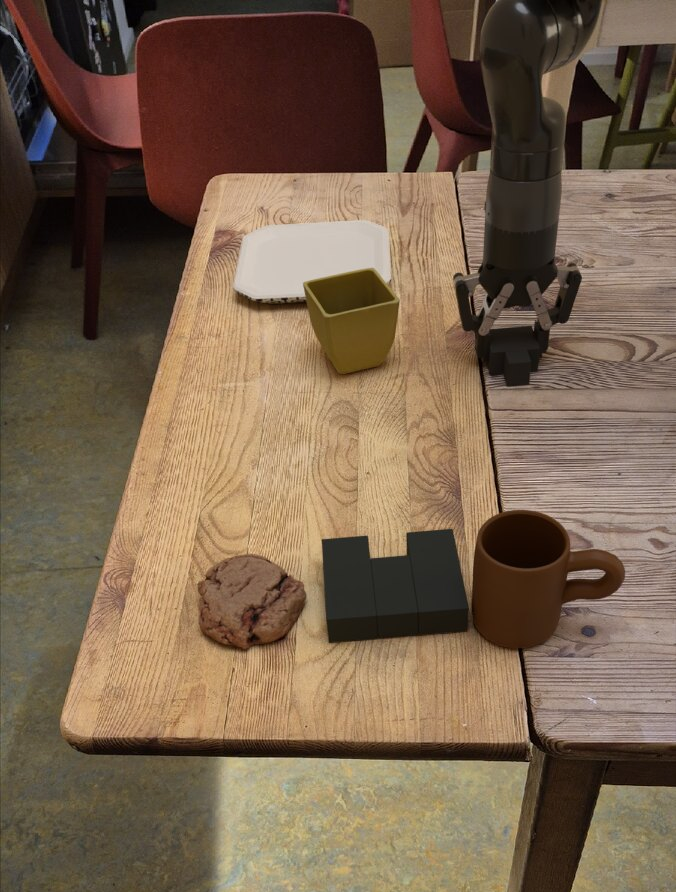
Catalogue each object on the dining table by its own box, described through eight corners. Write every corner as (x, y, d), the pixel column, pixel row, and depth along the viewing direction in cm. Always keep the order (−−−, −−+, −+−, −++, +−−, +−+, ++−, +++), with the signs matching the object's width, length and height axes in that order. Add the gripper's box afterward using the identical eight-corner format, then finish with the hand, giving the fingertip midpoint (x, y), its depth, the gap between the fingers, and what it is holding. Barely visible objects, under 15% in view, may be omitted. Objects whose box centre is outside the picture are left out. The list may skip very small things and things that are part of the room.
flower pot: (376, 334, 114) (373, 265, 107) (402, 370, 108) (401, 299, 101) (308, 351, 112) (301, 281, 106) (331, 388, 106) (325, 317, 100)
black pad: (529, 348, 109) (531, 325, 107) (542, 383, 104) (544, 360, 102) (483, 352, 109) (484, 329, 107) (493, 387, 104) (495, 364, 102)
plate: (389, 232, 132) (388, 217, 131) (392, 306, 118) (391, 290, 117) (246, 240, 134) (244, 225, 132) (232, 314, 119) (229, 298, 118)
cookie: (262, 551, 88) (258, 528, 86) (327, 614, 82) (325, 590, 80) (171, 600, 84) (165, 577, 82) (233, 670, 78) (228, 647, 76)
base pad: (452, 552, 86) (452, 528, 84) (467, 631, 80) (469, 608, 77) (324, 562, 87) (321, 538, 84) (328, 643, 80) (326, 619, 78)
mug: (615, 603, 81) (633, 522, 74) (607, 669, 76) (626, 589, 69) (479, 581, 84) (484, 501, 77) (462, 643, 79) (466, 564, 72)
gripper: (457, 235, 93) (453, 380, 105) (601, 222, 92) (580, 369, 105) (447, 203, 98) (444, 345, 110) (583, 191, 98) (565, 334, 110)
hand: (510, 356), depth 107 cm, fingers closed on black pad, 5 cm apart
